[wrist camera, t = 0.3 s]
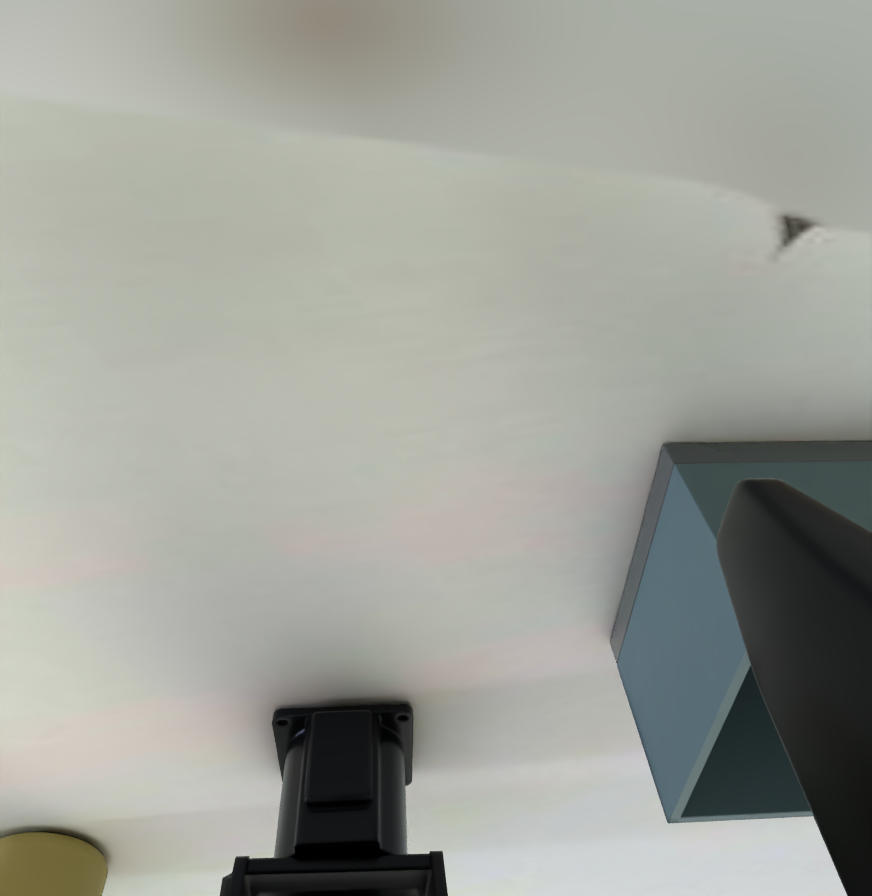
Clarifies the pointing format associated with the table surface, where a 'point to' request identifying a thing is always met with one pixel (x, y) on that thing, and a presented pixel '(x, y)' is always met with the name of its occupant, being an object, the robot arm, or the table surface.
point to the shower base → (716, 454)
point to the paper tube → (50, 866)
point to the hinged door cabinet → (714, 650)
